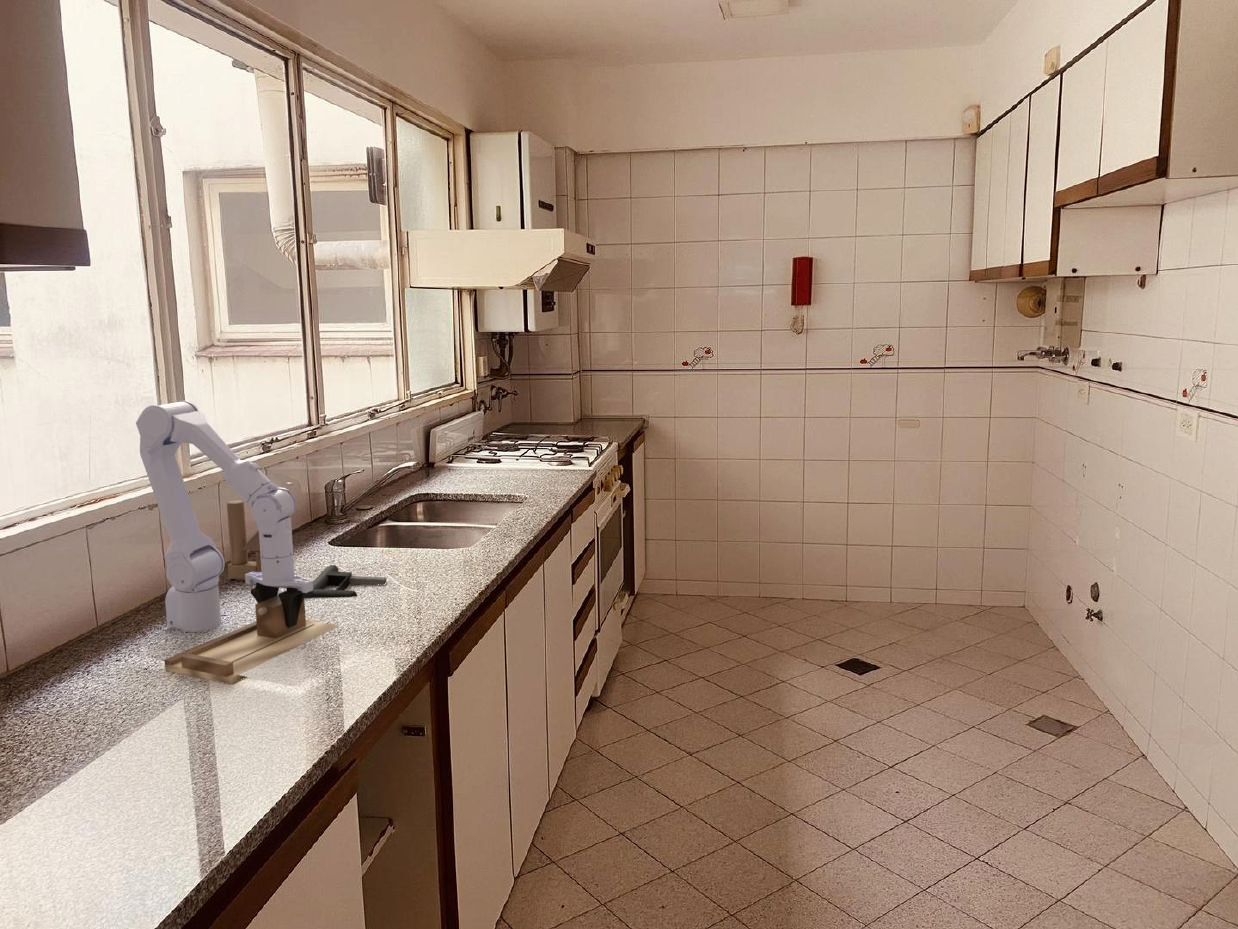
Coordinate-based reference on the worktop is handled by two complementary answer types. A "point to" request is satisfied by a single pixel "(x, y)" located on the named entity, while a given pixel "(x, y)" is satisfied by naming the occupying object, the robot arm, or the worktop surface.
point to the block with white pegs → (275, 618)
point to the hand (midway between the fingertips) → (281, 624)
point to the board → (239, 652)
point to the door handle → (339, 583)
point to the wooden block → (241, 543)
